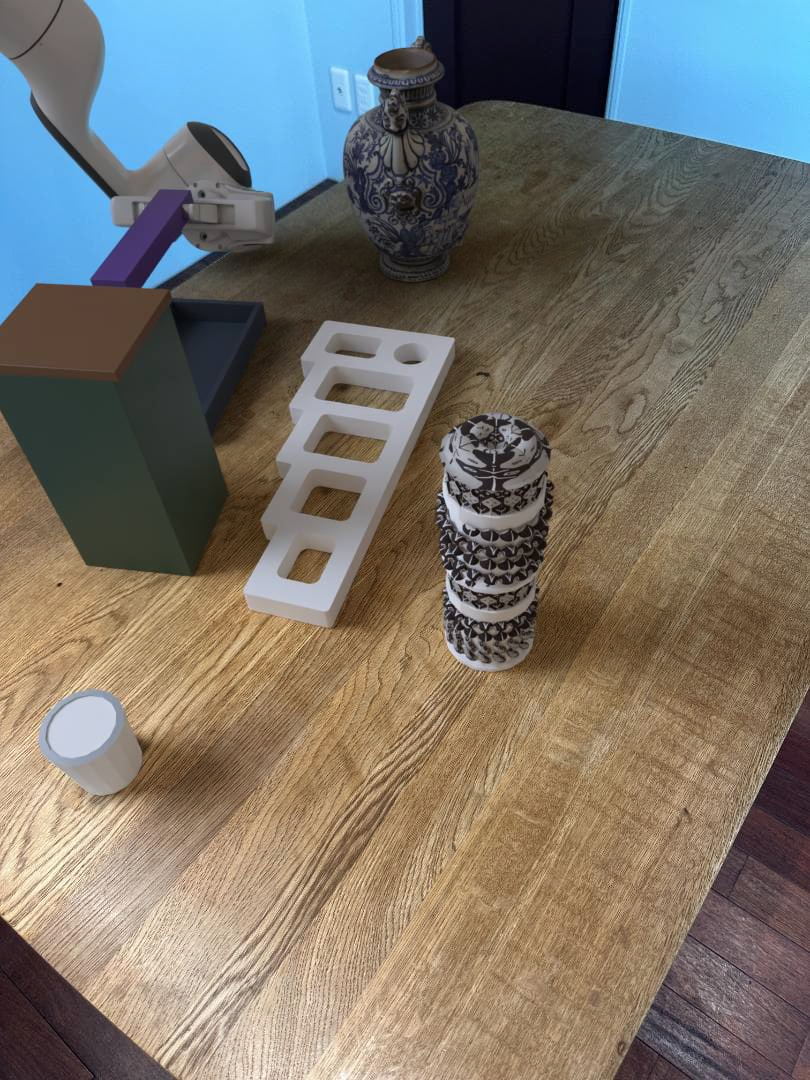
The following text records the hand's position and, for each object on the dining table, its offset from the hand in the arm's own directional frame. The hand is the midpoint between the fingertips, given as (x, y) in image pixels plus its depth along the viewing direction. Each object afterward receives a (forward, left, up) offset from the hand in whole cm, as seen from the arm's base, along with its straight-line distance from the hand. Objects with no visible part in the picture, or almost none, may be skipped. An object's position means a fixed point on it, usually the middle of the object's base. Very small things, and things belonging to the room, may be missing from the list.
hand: (166, 211), depth 96 cm
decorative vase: (+25, +24, -20) cm, 40 cm away
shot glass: (+12, -59, -20) cm, 64 cm away
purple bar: (0, -6, -2) cm, 7 cm away
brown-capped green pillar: (+6, -32, -19) cm, 38 cm away
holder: (+22, -19, -20) cm, 35 cm away
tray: (0, -6, -19) cm, 20 cm away
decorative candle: (+43, -41, -20) cm, 63 cm away
